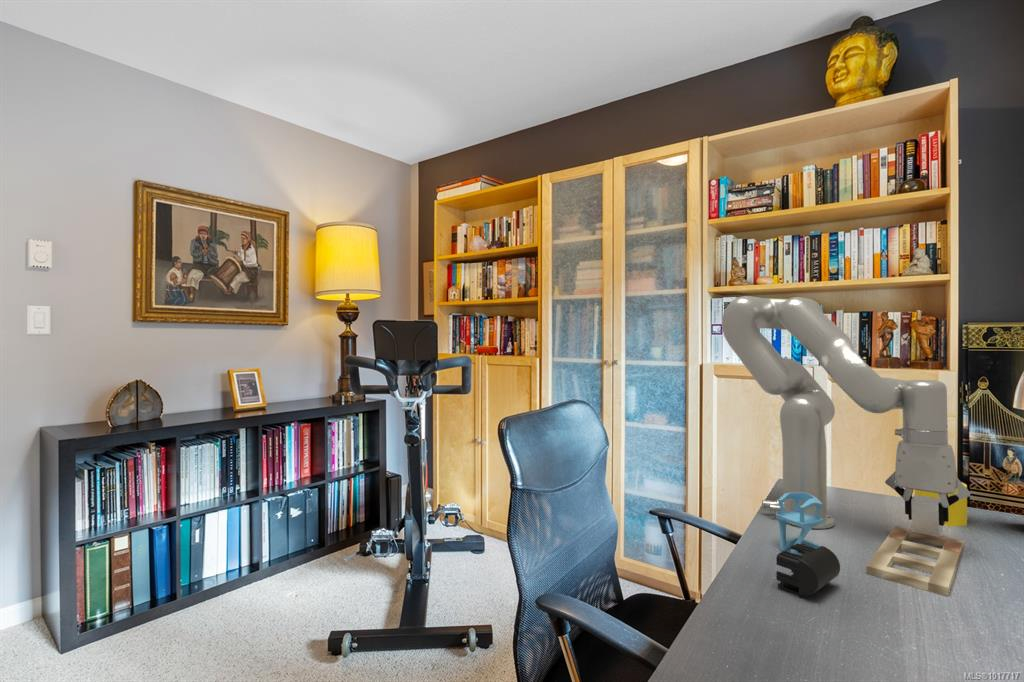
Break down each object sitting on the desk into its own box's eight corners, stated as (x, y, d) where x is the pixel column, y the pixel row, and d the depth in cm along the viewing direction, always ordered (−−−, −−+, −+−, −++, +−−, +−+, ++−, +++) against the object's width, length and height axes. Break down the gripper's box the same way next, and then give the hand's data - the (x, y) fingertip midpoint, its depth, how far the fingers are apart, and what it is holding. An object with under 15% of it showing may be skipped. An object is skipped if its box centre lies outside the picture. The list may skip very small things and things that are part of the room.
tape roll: (962, 517, 128) (962, 480, 128) (971, 529, 119) (971, 490, 119) (912, 510, 133) (912, 474, 133) (917, 521, 125) (917, 483, 125)
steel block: (911, 531, 109) (911, 499, 109) (915, 526, 112) (914, 494, 112) (938, 536, 106) (938, 503, 106) (941, 531, 109) (941, 498, 109)
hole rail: (866, 573, 97) (866, 565, 97) (895, 532, 117) (895, 525, 117) (948, 596, 88) (948, 587, 88) (963, 547, 109) (963, 540, 109)
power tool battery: (817, 605, 86) (817, 566, 86) (775, 589, 91) (775, 552, 91) (840, 587, 92) (840, 550, 92) (799, 573, 97) (799, 538, 97)
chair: (770, 546, 110) (770, 491, 110) (796, 540, 113) (796, 487, 113) (802, 560, 103) (802, 502, 103) (829, 553, 106) (829, 496, 106)
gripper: (874, 434, 113) (875, 516, 112) (976, 444, 100) (978, 536, 100) (881, 430, 118) (882, 508, 118) (979, 439, 106) (980, 526, 105)
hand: (926, 520), depth 109 cm, fingers closed on steel block, 4 cm apart
